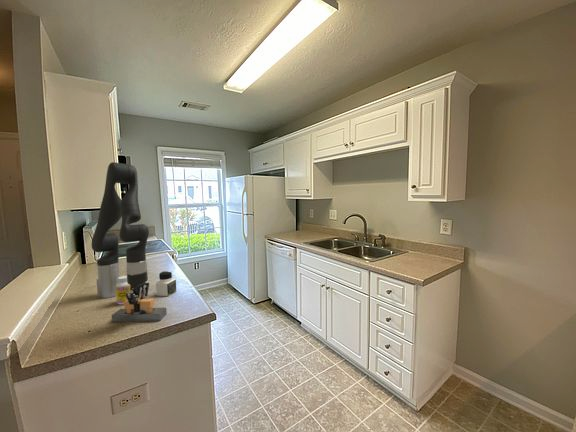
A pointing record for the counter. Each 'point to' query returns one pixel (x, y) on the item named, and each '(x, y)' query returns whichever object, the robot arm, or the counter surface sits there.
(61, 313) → the counter surface
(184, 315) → the counter surface
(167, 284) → the medicine bottle
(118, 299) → the supplement bottle
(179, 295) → the counter surface
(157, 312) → the grey slotted block
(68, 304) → the counter surface
